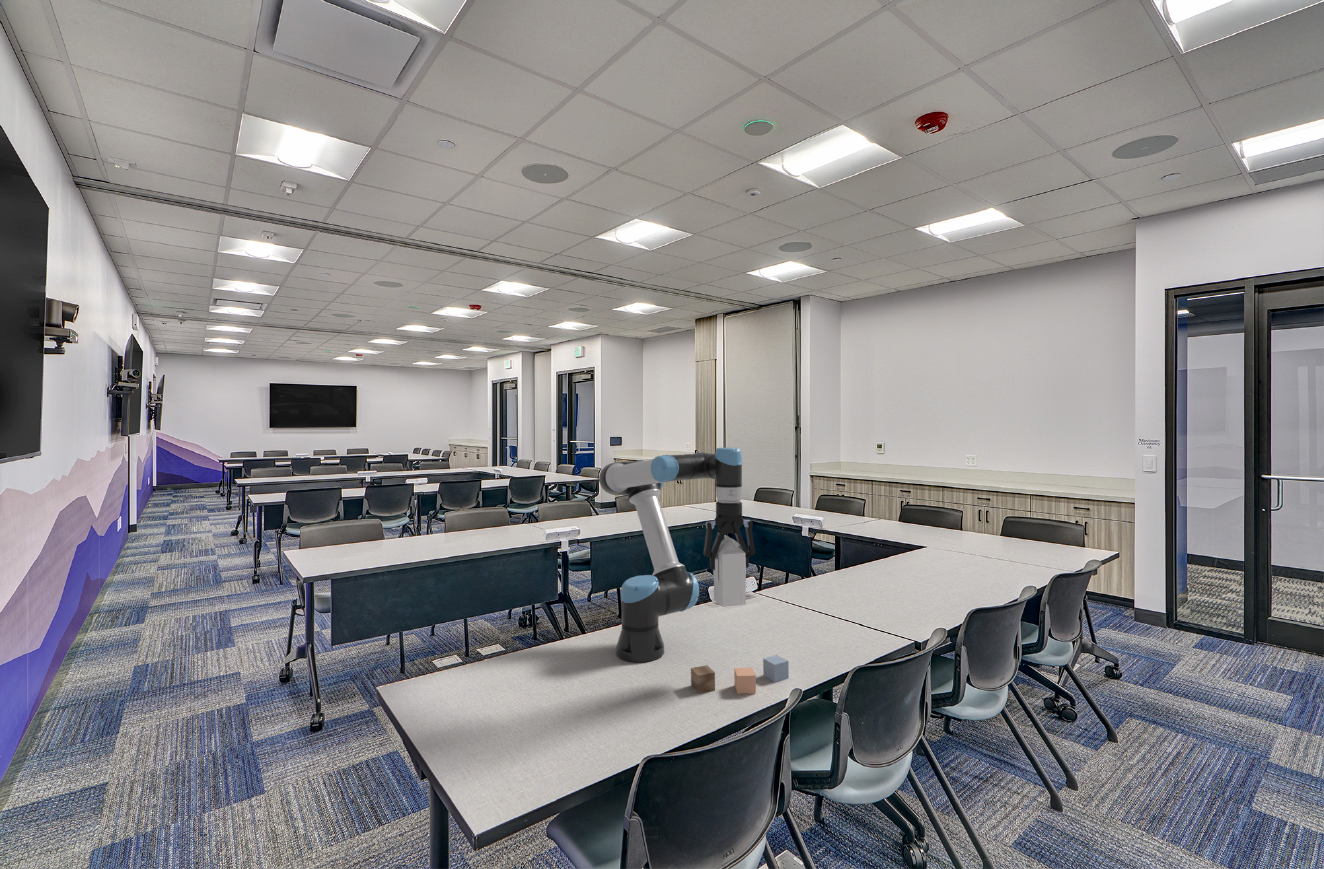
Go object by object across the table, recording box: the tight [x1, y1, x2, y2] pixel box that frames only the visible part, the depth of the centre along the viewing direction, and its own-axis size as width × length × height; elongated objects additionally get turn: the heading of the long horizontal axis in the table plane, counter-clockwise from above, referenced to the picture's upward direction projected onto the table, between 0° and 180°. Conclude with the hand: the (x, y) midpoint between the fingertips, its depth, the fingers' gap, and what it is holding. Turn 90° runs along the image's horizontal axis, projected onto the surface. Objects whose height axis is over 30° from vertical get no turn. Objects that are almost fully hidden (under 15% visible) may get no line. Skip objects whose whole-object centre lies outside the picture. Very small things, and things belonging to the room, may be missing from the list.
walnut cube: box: [690, 664, 716, 694], centre depth 158 cm, size 5×5×5 cm
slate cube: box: [762, 654, 790, 683], centre depth 164 cm, size 5×5×5 cm
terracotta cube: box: [733, 667, 757, 695], centre depth 157 cm, size 5×5×5 cm
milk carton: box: [713, 534, 747, 608], centre depth 167 cm, size 7×7×19 cm
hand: (729, 579), depth 167 cm, fingers closed on milk carton, 7 cm apart
